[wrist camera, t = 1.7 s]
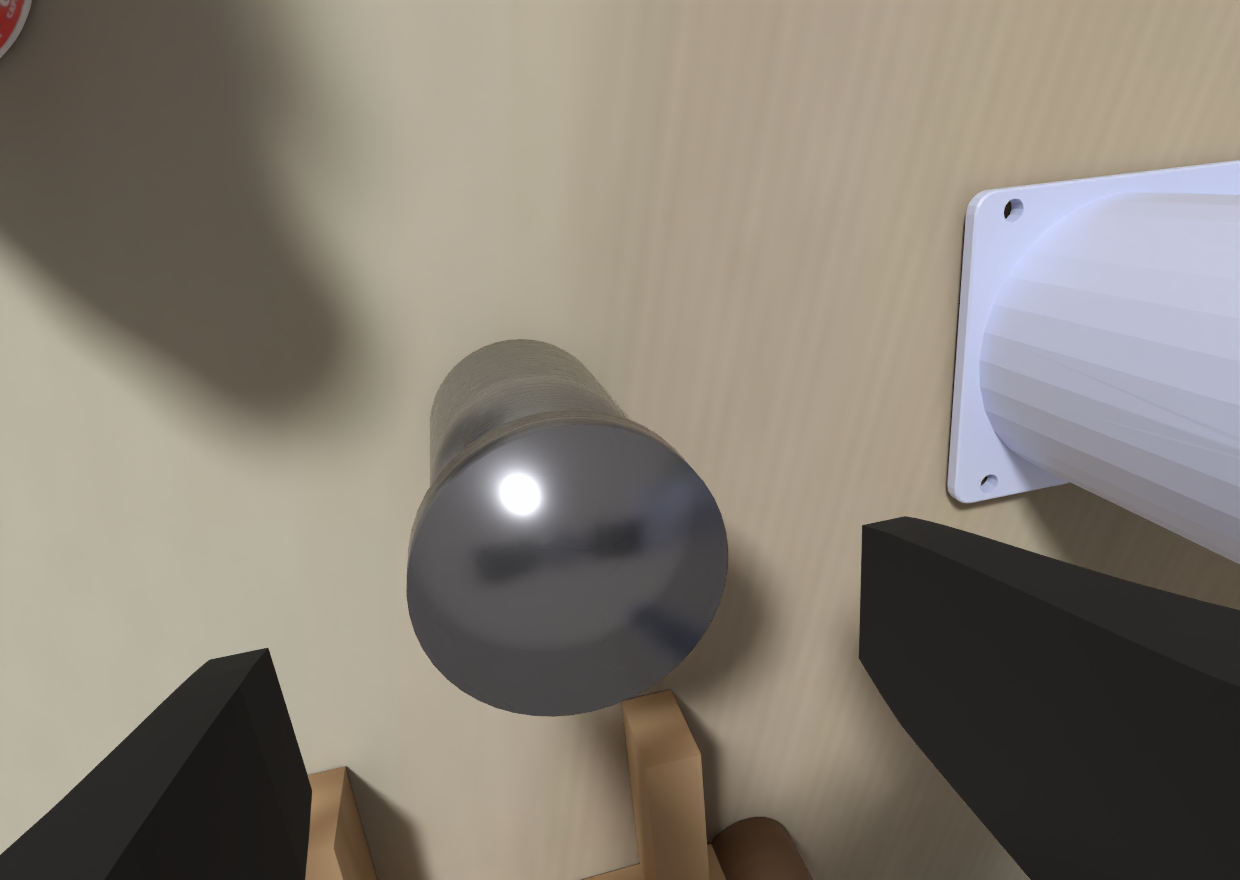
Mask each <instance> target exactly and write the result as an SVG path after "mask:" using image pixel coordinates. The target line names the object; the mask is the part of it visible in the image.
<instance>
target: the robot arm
mask: <svg viewBox="0 0 1240 880" xmlns="http://www.w3.org/2000/svg"><path fill="white" fill-rule="evenodd" d="M1009 201H1010V202H1011V207H1012V209H1011V212H1010V215H1009V216H1008V217H1007V218H1006V219H1005V218H1004V209H1005V205H1006V204H1007V203H1008V202H1009ZM987 475H988V477H987V480H986V482H985V483H984V484H983V485H982V486H980V484H981V481H982V480H983V479H984V477H985V476H987ZM1066 483H1073V484H1075V485H1077V486H1079V487H1081V488H1083V489H1085V490H1087V491H1089V492H1091V493H1093V494H1095V495H1098V496H1100V497H1102V498H1104V499H1106V500H1108V501H1110V502H1112V503H1114V504H1116V505H1118V506H1120V507H1122V508H1124V509H1126V510H1128V511H1130V512H1133V513H1135V514H1137V515H1139V516H1141V517H1143V518H1145V519H1147V520H1149V521H1151V522H1153V523H1155V524H1157V525H1159V526H1161V527H1163V528H1165V529H1168V530H1170V531H1172V532H1174V533H1176V534H1178V535H1180V536H1182V537H1184V538H1186V539H1188V540H1190V541H1192V542H1194V543H1196V544H1198V545H1200V546H1203V547H1205V548H1207V549H1209V550H1211V551H1213V552H1215V553H1217V554H1219V555H1221V556H1223V557H1225V558H1227V559H1229V560H1231V561H1233V562H1235V563H1237V564H1240V160H1235V161H1226V162H1218V163H1210V164H1201V165H1193V166H1184V167H1176V168H1167V169H1159V170H1150V171H1142V172H1133V173H1125V174H1117V175H1108V176H1100V177H1091V178H1083V179H1074V180H1066V181H1057V182H1049V183H1041V184H1032V185H1024V186H1015V187H1007V188H998V189H990V190H985V191H982V192H979V193H978V194H977V195H976V196H974V197H973V198H972V200H971V202H970V203H969V205H968V208H967V212H966V222H965V237H964V251H963V266H962V280H961V295H960V309H959V324H958V338H957V353H956V368H955V382H954V397H953V411H952V426H951V440H950V455H949V469H948V484H947V486H948V492H949V493H950V495H951V496H952V497H953V498H955V499H957V500H958V501H960V502H962V503H973V502H978V501H983V500H988V499H993V498H998V497H1003V496H1008V495H1013V494H1017V493H1022V492H1027V491H1032V490H1037V489H1042V488H1047V487H1052V486H1057V485H1061V484H1066ZM859 659H860V661H861V663H862V664H863V666H864V667H865V669H866V671H867V672H868V674H869V676H870V677H871V679H872V681H873V682H874V684H875V685H876V687H877V689H878V690H879V692H880V694H881V695H882V697H883V698H884V700H885V701H886V703H887V704H888V706H889V707H890V709H891V710H892V712H893V713H894V715H895V716H896V718H897V719H898V721H899V722H900V724H901V725H902V727H903V728H904V729H905V730H906V732H907V733H908V734H909V735H910V737H911V738H912V739H913V740H914V741H915V743H916V744H917V745H918V746H919V748H920V749H921V750H922V751H923V752H924V754H925V755H926V756H927V757H928V758H929V760H930V761H931V762H932V763H933V764H934V766H935V767H936V768H937V769H938V770H939V772H940V773H941V774H942V775H943V776H944V778H945V779H946V780H947V781H948V782H949V784H950V785H951V786H952V787H953V788H954V789H955V791H956V792H957V793H958V794H959V795H960V797H961V798H962V799H963V800H964V801H965V802H966V804H967V805H968V806H969V807H970V808H971V810H972V811H973V812H974V813H975V814H976V815H977V817H978V818H979V819H980V820H981V821H982V823H983V824H984V825H985V826H986V827H987V828H988V830H989V831H990V832H991V833H992V834H993V836H994V837H995V838H996V839H997V840H998V841H999V843H1000V844H1001V845H1002V846H1003V847H1004V849H1005V850H1006V851H1007V852H1008V853H1009V855H1010V856H1011V857H1012V858H1013V859H1014V860H1015V862H1016V863H1017V864H1018V865H1019V866H1020V868H1021V869H1022V870H1023V871H1024V872H1025V873H1026V875H1027V876H1028V877H1029V878H1030V879H1031V880H1240V610H1236V609H1232V608H1228V607H1223V606H1219V605H1215V604H1211V603H1207V602H1203V601H1199V600H1196V599H1192V598H1188V597H1185V596H1181V595H1177V594H1174V593H1170V592H1166V591H1162V590H1159V589H1155V588H1151V587H1148V586H1144V585H1140V584H1136V583H1133V582H1130V581H1126V580H1123V579H1119V578H1116V577H1112V576H1109V575H1106V574H1102V573H1099V572H1095V571H1092V570H1089V569H1085V568H1082V567H1079V566H1075V565H1072V564H1069V563H1066V562H1063V561H1059V560H1056V559H1053V558H1050V557H1046V556H1043V555H1040V554H1037V553H1034V552H1030V551H1027V550H1024V549H1021V548H1018V547H1014V546H1011V545H1008V544H1005V543H1002V542H998V541H995V540H992V539H989V538H986V537H982V536H979V535H976V534H973V533H969V532H966V531H962V530H959V529H956V528H952V527H949V526H945V525H941V524H938V523H934V522H930V521H926V520H921V519H916V518H911V517H906V516H905V517H900V518H895V519H890V520H885V521H881V522H876V523H871V524H866V525H862V559H861V598H860V638H859ZM311 802H312V788H311V785H310V782H309V778H308V775H307V772H306V769H305V765H304V762H303V759H302V756H301V753H300V749H299V746H298V743H297V740H296V736H295V733H294V730H293V727H292V723H291V720H290V717H289V714H288V710H287V707H286V704H285V701H284V697H283V694H282V691H281V688H280V684H279V681H278V678H277V675H276V671H275V668H274V665H273V662H272V658H271V655H270V652H269V649H268V648H264V649H260V650H255V651H250V652H245V653H240V654H235V655H230V656H226V657H221V658H216V659H211V660H209V661H207V662H206V663H205V664H204V665H203V666H201V667H200V668H199V669H198V670H197V671H196V672H194V673H193V674H192V675H191V676H190V677H189V678H188V679H187V680H186V681H185V682H183V683H182V684H181V685H180V686H179V687H178V688H177V689H176V690H175V691H174V692H173V693H172V694H171V695H170V696H169V697H168V698H167V699H166V700H165V701H163V702H162V703H161V704H160V705H159V706H158V707H157V708H156V709H155V710H154V711H153V712H152V713H151V714H150V715H149V716H148V717H147V718H146V719H145V720H144V721H143V722H142V723H141V724H140V725H139V726H138V727H137V728H136V729H135V730H134V731H133V732H132V733H131V734H130V735H129V736H128V737H126V738H125V739H124V740H123V741H122V742H121V743H120V744H119V745H118V746H117V747H116V748H115V749H114V750H113V751H112V752H111V753H110V754H109V755H108V756H107V757H106V758H105V759H104V760H103V761H101V762H100V763H99V764H98V765H97V766H96V767H95V768H94V769H93V770H92V771H91V772H90V773H89V774H88V775H87V776H86V777H85V778H84V779H83V780H82V781H81V782H80V783H79V784H77V785H76V786H75V787H74V788H73V789H72V790H71V791H70V792H69V793H68V794H67V795H66V796H65V797H64V798H63V799H62V800H61V801H60V802H59V803H58V804H56V805H55V806H54V807H53V808H52V809H51V810H50V811H49V812H48V813H47V814H45V815H44V816H43V817H42V818H41V819H40V820H39V821H38V822H37V823H35V824H34V825H33V826H32V827H31V828H30V829H29V830H28V831H27V832H25V833H24V834H23V835H22V836H21V837H20V838H19V839H18V840H16V841H15V842H14V843H13V844H12V845H11V846H10V847H9V848H8V849H6V850H5V851H4V852H3V853H2V854H1V855H0V880H305V876H306V865H307V855H308V844H309V831H310V817H311Z"/></svg>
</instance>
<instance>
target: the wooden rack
mask: <svg viewBox="0 0 1240 880" xmlns="http://www.w3.org/2000/svg"><path fill="white" fill-rule="evenodd" d="M622 711H623V720H624V729H625V738H626V747H627V756H628V765H629V774H630V783H631V791H632V800H633V809H634V818H635V827H636V836H637V845H638V854H639V863H640V864H637V865H633V866H630V867H626V868H623V869H619V870H615V871H612V872H608V873H605V874H601V875H597V876H594V877H590V878H587V879H583V880H813V879H812V877H811V875H810V873H809V872H808V870H807V868H806V866H805V864H804V862H803V860H802V859H801V857H800V855H799V853H798V851H797V849H796V847H795V846H794V844H793V842H792V840H791V838H790V836H789V834H788V833H787V831H786V829H785V828H784V826H783V825H781V824H780V823H779V822H777V821H775V820H773V819H770V818H764V817H756V818H749V819H745V820H742V821H739V822H737V823H735V824H733V825H731V826H729V827H728V828H726V829H725V830H724V831H722V832H721V833H720V834H719V835H718V836H717V837H716V838H715V839H714V841H713V842H712V843H711V844H709V845H707V836H706V821H705V807H704V792H703V777H702V763H701V753H700V751H699V749H698V747H697V745H696V743H695V740H694V738H693V736H692V734H691V732H690V730H689V727H688V725H687V723H686V721H685V719H684V717H683V715H682V712H681V710H680V708H679V706H678V704H677V702H676V699H675V697H674V695H673V693H672V691H671V690H667V691H663V692H658V693H654V694H650V695H646V696H641V697H637V698H633V699H629V700H625V701H622ZM308 778H309V782H310V785H311V788H312V802H311V817H310V831H309V844H308V855H307V865H306V876H305V880H377V877H376V873H375V870H374V866H373V863H372V859H371V856H370V852H369V848H368V845H367V841H366V838H365V834H364V831H363V827H362V824H361V820H360V817H359V813H358V810H357V806H356V803H355V799H354V796H353V792H352V789H351V785H350V782H349V778H348V774H347V771H346V767H341V768H337V769H333V770H328V771H324V772H320V773H316V774H311V775H308Z"/></svg>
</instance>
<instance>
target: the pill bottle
mask: <svg viewBox="0 0 1240 880" xmlns="http://www.w3.org/2000/svg"><path fill="white" fill-rule="evenodd" d="M31 3H32V0H0V58H1V57H2V56H3V55H4V54H5V53H6V52H7V50H8V49H9V48H10V47H11V45H12V44H13V43H14V42H15V40H16V39H17V37H18V35H19V34H20V32H21V30H22V28H23V26H24V24H25V21H26V19H27V17H28V14H29V11H30V8H31Z"/></svg>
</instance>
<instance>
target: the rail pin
mask: <svg viewBox="0 0 1240 880" xmlns="http://www.w3.org/2000/svg"><path fill="white" fill-rule="evenodd" d="M727 569H728V545H727V536H726V530H725V527H724V523H723V519H722V515H721V513H720V511H719V508H718V506H717V504H716V501H715V499H714V497H713V496H712V494H711V492H710V491H709V489H708V488H707V486H706V484H705V483H704V482H703V480H702V479H701V478H700V477H699V476H698V475H697V474H696V472H695V471H694V470H693V469H692V468H691V467H690V465H689V464H688V463H687V462H686V461H685V460H684V459H683V458H682V456H681V455H680V454H679V453H678V452H677V451H676V450H675V449H674V448H673V447H672V446H671V445H670V444H669V443H668V442H666V441H665V440H664V439H663V438H662V437H660V436H659V435H657V434H656V433H654V432H653V431H651V430H649V429H648V428H646V427H644V426H642V425H640V424H638V423H636V422H634V421H631V420H629V419H627V418H626V417H625V416H624V415H623V414H622V412H621V411H620V410H619V408H618V407H617V406H616V405H615V403H614V402H613V401H612V400H611V398H610V397H609V396H608V395H607V393H606V392H605V391H604V390H603V388H602V387H601V386H600V384H599V383H598V382H597V381H596V379H595V378H594V377H593V376H592V374H591V373H590V372H589V371H588V370H587V369H586V367H585V366H584V365H583V364H582V363H581V362H580V361H578V360H577V359H576V358H575V357H574V356H572V355H571V354H569V353H568V352H566V351H564V350H562V349H560V348H558V347H556V346H554V345H551V344H548V343H544V342H540V341H535V340H523V339H518V340H507V341H502V342H497V343H494V344H491V345H488V346H485V347H483V348H481V349H479V350H477V351H475V352H473V353H472V354H470V355H469V356H467V357H466V358H464V359H463V360H462V361H461V362H460V363H458V364H457V365H456V366H455V367H454V368H453V369H452V371H451V372H450V373H449V374H448V375H447V377H446V378H445V380H444V381H443V383H442V384H441V386H440V388H439V390H438V392H437V394H436V397H435V400H434V403H433V406H432V411H431V417H430V488H429V489H428V491H427V492H426V494H425V497H424V499H423V501H422V503H421V505H420V507H419V509H418V511H417V514H416V517H415V521H414V524H413V527H412V530H411V537H410V543H409V549H408V566H407V601H408V608H409V615H410V618H411V622H412V625H413V628H414V631H415V634H416V636H417V638H418V640H419V642H420V644H421V646H422V648H423V650H424V652H425V653H426V655H427V656H428V657H429V659H430V660H431V662H432V663H433V665H434V666H435V667H436V668H437V669H438V670H439V671H440V672H441V673H442V674H443V675H444V676H445V677H446V678H447V679H448V680H449V681H450V682H451V683H453V684H454V685H455V686H457V687H458V688H459V689H460V690H462V691H463V692H465V693H467V694H468V695H470V696H472V697H474V698H475V699H477V700H479V701H481V702H484V703H486V704H488V705H491V706H493V707H496V708H499V709H503V710H506V711H510V712H513V713H519V714H526V715H532V716H565V715H575V714H581V713H586V712H592V711H595V710H599V709H602V708H605V707H609V706H612V705H614V704H617V703H619V702H622V701H624V700H627V699H629V698H631V697H633V696H635V695H637V694H638V693H640V692H642V691H644V690H646V689H647V688H649V687H650V686H652V685H653V684H655V683H656V682H658V681H659V680H661V679H662V678H664V677H665V676H666V675H667V674H668V673H669V672H671V671H672V670H673V669H674V668H675V667H677V666H678V665H679V664H680V663H681V662H682V660H683V659H684V658H685V657H686V656H687V655H688V654H689V653H690V652H691V651H692V650H693V648H694V647H695V646H696V644H697V643H698V642H699V640H700V639H701V638H702V636H703V635H704V633H705V631H706V630H707V628H708V626H709V625H710V623H711V621H712V619H713V617H714V615H715V612H716V610H717V608H718V606H719V603H720V600H721V597H722V593H723V590H724V587H725V581H726V575H727Z"/></svg>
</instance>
